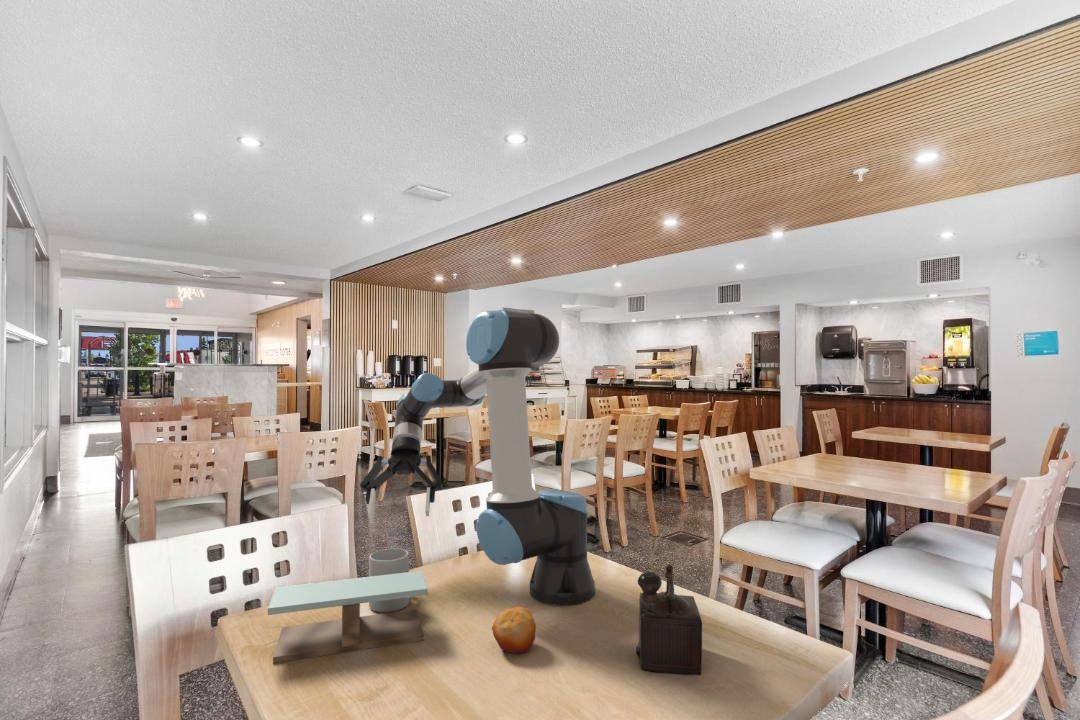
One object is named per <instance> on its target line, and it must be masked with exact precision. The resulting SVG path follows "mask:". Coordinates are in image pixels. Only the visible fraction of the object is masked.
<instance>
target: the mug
mask: <svg viewBox="0 0 1080 720" xmlns="http://www.w3.org/2000/svg"><path fill="white" fill-rule="evenodd" d="M409 554H410V553H409V551H408V550H406V549H403V548H396V547H395V548H385V549H379V550H377V551H374V552H372V553H371V554H370V555H369V557H368V558H369V559H368V561H369V562H368V564H369V565H368V568H369V570H368V577H371V576H380V575H389V574H397V573H406V572H410V571H409V570H410V565H409V564H410V563H409V561H410V560H409V559H410V558H409V557H410V556H409ZM409 603H410V597H407V598H399V599H391V600H383V601H376V602H368V607H370V608H369V610H371V611H372V610H373V611H372V612H375V611H377V612H376V613H380V612H388V613H391V612H393V611H394V612H398V611H400V609H401V610H402V609H404V607H405V608H406V607H407V606H408V605H409ZM397 610H398V611H397Z"/></svg>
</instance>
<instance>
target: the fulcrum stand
mask: <svg viewBox="0 0 1080 720" xmlns="http://www.w3.org/2000/svg"><path fill="white" fill-rule="evenodd" d="M360 604H361V603H360ZM360 604H352V605H344V606H341V607H342V608H341V612H342V613H341V615H342V617H341V618H339V619H334V620H333V619H332V620H325V621H319V622H318V621H317V622H311V623H303V624H302V623H301V624H295V625H289V626H282V628H281V630H280V634H279V637H278V639H277V644H276V647H275V650H274V652H273V657H272V663H273V664H275V663H277V664H278V663H281V662H287V661H294V660H296V661H297V660H300V659H303V660H304V659H309V658H316V657H322V656H328V655H335V654H341V653H348V652H355V651H361V650H368V649H374V648H375V649H376V648H381V647H389V646H393V645H400V644H407V643H408V642H409V643H415V642H420V641H424V640H423V639H424V638H423V637H424V635H423V629H422V625H421V621H420V618H419V617H420V616H419V612H418V609H417V608H415V609H408V610H407V609H406V610H401V611H400V610H398V611H394V612H388V613H379V614H378V613H377V614H370V615H363V616H361V614H360V613H361V612H360V611H361V605H360Z"/></svg>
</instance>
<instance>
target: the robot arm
mask: <svg viewBox="0 0 1080 720" xmlns="http://www.w3.org/2000/svg"><path fill="white" fill-rule="evenodd" d="M465 346H466V352H467V355H468V356H469V359H470V360H471V362H473V363H475V364H476V365H478V366H477V367H476V368H475V369H473V370H472V371H470V372H469V373H468V374H466V375H465V376H463V377H460V379H455V380H454V379H450V380H447V379H443V380H442V379H441V378H440V376H438V375H437V374H434V373H433V374H432V373H431V372H424V373H422V374H420V375H419V376H418V377H417V379H416V380H415V381H414V382H413V383H412V385H411V388H410V389H409V391H408V392H407V393H406V394H403V395H402V396H400V397H399V399H398V402H397V405H396V409H395V412H396V413H395V421H394V429H393V436H392V444H391V451H390V456H389V457H388V458H385V457H384V458H383V456H382V455H378V457H377V459H376V463H375V464H374V465H373V467H371V469H370V470H369V472H368V473H367V474H366V476H365V477H364V479H362V481H361V482H360V483H359V486H360V487H359V488H360V490H361V492H362V493H364V492H366V494H365V503H366V505H368V508H367V514H368V518H369V519H371V518H373V516H374V509H375V504H376V497H377V496H376V495H377V494H376V491H377V490H378V489H379V488H380V487H382V485H384V483H386V482H387V481H388V480H389V479H390V478H393V477H394V476H395V475H398V476H400V475H401V476H402V475H406V476H407V475H408V476H409V475H411V474H413V475H414V477H416V478H417V479H419V480H420V482H421V483H422V485H424V486H425V487H426V497H425V499H426V500H425V508H424V509H425V517H429V516H430V511H431V509H430V507H431V504H432V503H435V498H436V492H437V491H441V490H443V489H444V488H443V481H442V479H441V478H440V476H439V474H438V472H437V470H436V468H435V467H434V465H433V463H432V456H431V455H426V457H421V443H422V434H423V425H424V424H423V423H424V419H425V418H426V416H427V415H428V414H429V412H430V411H431V409H433V408H435V409H436V408H453V407H456V408H457V407H473V406H477V405H481V404H482V403H483V401H484V399H485V397H486V396H487V413H488V430H489V431H488V432H489V449H490V452H489V453H490V466H491V467H490V468H491V482H492V483H491V484H492V486H491V487H492V490H491V492H490V493H489V495H488V496H487V497H486V498H485V501H486V509H483V511H481V512H480V514H479V515H478V518H477V520H476V523H475V524H476V527H475V528H476V536H477V540H478V543H479V545H480V547H481V549H482V551H483V552H484V554H485V556H487V558H488V559H489V560H490V561H491V562H493V563H494V564H497V565H500V566H505V565H510V564H518V563H521V562H522V561H525V560H529V559H531V558H535V557H536V561H535V564H534V566H533V571H532V574H531V576H530V578H529V579H530V580H529V595H530V596H531V597H532V598H533V599H534V600H536V601H537V602H539V603H543V604H547V605H551V606H552V605H553V606H573V605H574V606H575V605H580V604H583V603H586V602H587V601H588V602H589V601H590V600H592V599H593V598H594V597H595V595H596V583H595V580H594V578H593V577H594V576H593V574H592V570H591V567H590V564H589V561H588V515H589V513H588V507H587V499H586V497H585V496H584V495H582V494H580V493H578V492H574V491H568V490H560V489H540V490H538V491H536V490H535V489H534V488H533V479H532V466H531V451H530V450H531V448H530V434H529V420H528V419H529V417H528V403H527V401H528V400H527V386H526V378H527V375H528V374H529V373H531V371H532V370H537V369H538V368H540V367H542V366H544V365H545V364H547V363H549V362H550V361H551V360H552V359H553V358H554V357H555V355H556V354H557V352H558V349H559V346H560V335H559V331H558V329H557V326H555V324H554V323H553V322H552V321H551V319H549V318H548V317H546V316H544V315H542V314H539V313H532V312H531V313H530V312H518V311H510V310H502V309H499V310H485V311H483V312H482V311H481V312H480V313H479V314H477V315H476V316H475V318H474V319H473V320H472V322H471V323H470V325H469V328H468V331H467V334H466V343H465ZM421 464H423V466H424V467H425V468H427V471H428V473H429V475H430V477H431V479H430V478H429V477H428V476H427V474H425V472H424V471H423V470H422V469H421V468H420V466H421ZM386 465H388V466H387V467H386V469H385V470H384V471H383V472H381V471H382V469H383V468H385V466H386ZM380 473H381V474H380Z"/></svg>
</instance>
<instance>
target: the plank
mask: <svg viewBox="0 0 1080 720" xmlns="http://www.w3.org/2000/svg"><path fill="white" fill-rule="evenodd" d="M428 590H429V589H428V586H427V583H426V577H425V575H424V572H423V570H416V571H409V572H406V573H397V574H389V575H380V576H371V577H369V576H363V577H355V578H346V579H337V580H329V581H318V582H311V583H303V584H294V585H284V586H283V585H282V586H276V587H275V589H274V591H273V595H272V596H271V600H270V602H269V604H268V607H267V615H268V616H271V615H272V616H273V615H281V614H286V613H295V612H303V611H304V612H305V611H311V610H319V609H325V608H327V609H328V608H337V607H342V606H344V605H352V604H367V603H368V604H369V602H376V601H383V600H391V599H399V598H407V597H409V598H414V597H421V596H428V593H429V592H428Z"/></svg>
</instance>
